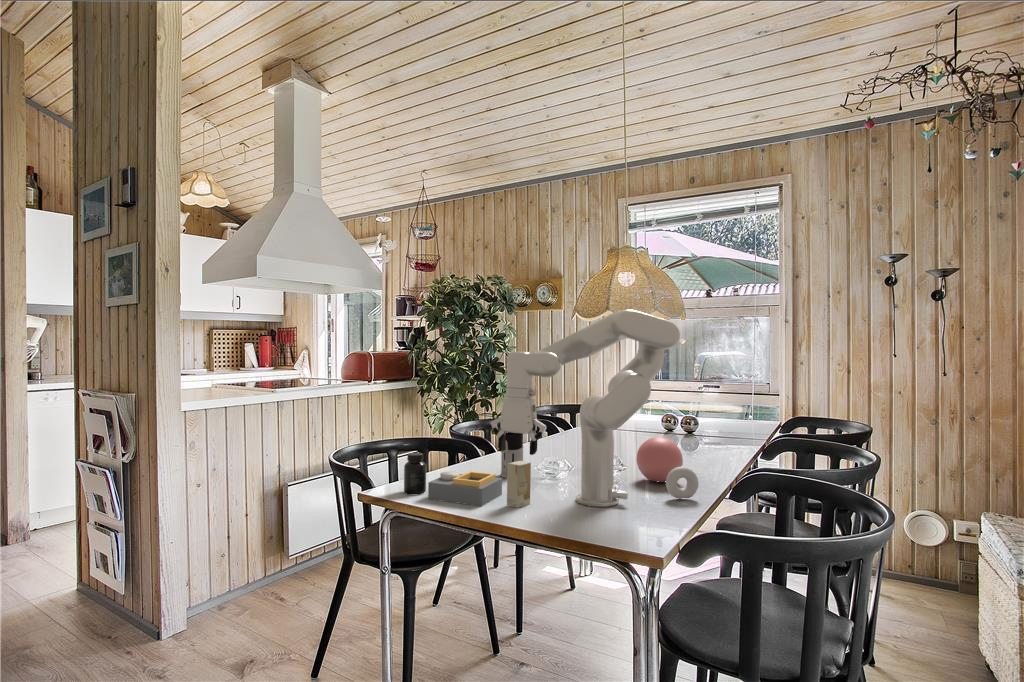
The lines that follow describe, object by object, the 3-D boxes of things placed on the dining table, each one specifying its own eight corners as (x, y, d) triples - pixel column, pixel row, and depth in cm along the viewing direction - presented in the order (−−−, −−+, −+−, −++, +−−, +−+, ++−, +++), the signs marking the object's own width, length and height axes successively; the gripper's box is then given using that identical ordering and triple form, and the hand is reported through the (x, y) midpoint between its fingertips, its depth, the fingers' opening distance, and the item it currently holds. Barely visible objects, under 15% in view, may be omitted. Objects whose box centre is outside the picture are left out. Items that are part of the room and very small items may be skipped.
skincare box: (518, 508, 154) (518, 465, 154) (506, 505, 157) (506, 463, 157) (531, 503, 159) (531, 461, 159) (519, 501, 162) (519, 459, 162)
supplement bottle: (405, 489, 174) (405, 452, 174) (426, 489, 174) (426, 451, 175) (402, 495, 167) (403, 456, 167) (425, 494, 168) (425, 455, 168)
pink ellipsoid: (678, 475, 197) (678, 432, 198) (685, 488, 178) (685, 441, 178) (635, 473, 200) (635, 431, 201) (637, 486, 181) (637, 440, 181)
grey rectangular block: (501, 494, 169) (502, 473, 169) (481, 506, 156) (482, 483, 156) (451, 488, 176) (451, 468, 176) (428, 499, 163) (428, 477, 163)
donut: (695, 497, 167) (695, 465, 167) (700, 501, 163) (700, 467, 164) (664, 498, 166) (664, 465, 166) (668, 501, 163) (668, 467, 163)
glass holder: (527, 474, 197) (528, 432, 197) (513, 483, 184) (514, 438, 184) (505, 472, 200) (505, 431, 200) (490, 480, 187) (490, 437, 187)
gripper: (551, 394, 158) (549, 453, 158) (497, 391, 165) (495, 447, 165) (542, 396, 152) (540, 457, 151) (486, 392, 158) (484, 451, 158)
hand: (517, 452), depth 158 cm, fingers open, 9 cm apart
